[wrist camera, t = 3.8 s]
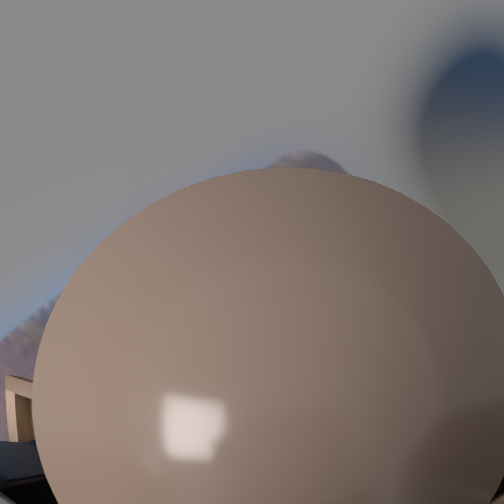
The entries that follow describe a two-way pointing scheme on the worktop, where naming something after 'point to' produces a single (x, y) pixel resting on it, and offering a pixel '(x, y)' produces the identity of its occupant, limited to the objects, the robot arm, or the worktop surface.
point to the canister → (275, 353)
